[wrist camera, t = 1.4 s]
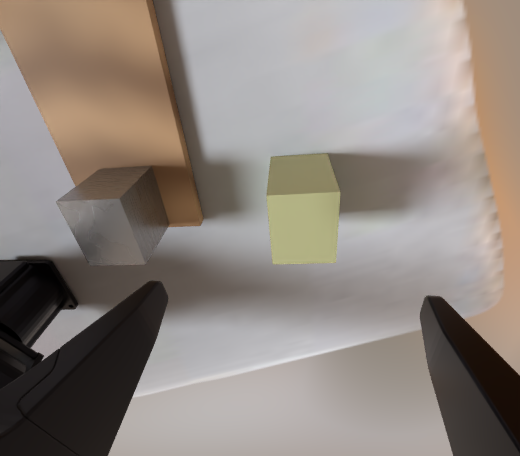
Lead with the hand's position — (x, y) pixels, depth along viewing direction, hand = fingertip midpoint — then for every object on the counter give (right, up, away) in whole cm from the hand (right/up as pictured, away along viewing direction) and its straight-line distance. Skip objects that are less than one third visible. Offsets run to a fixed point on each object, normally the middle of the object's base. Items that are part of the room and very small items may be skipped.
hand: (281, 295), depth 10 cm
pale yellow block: (+2, +5, +12) cm, 14 cm away
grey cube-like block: (-10, +5, +13) cm, 17 cm away
